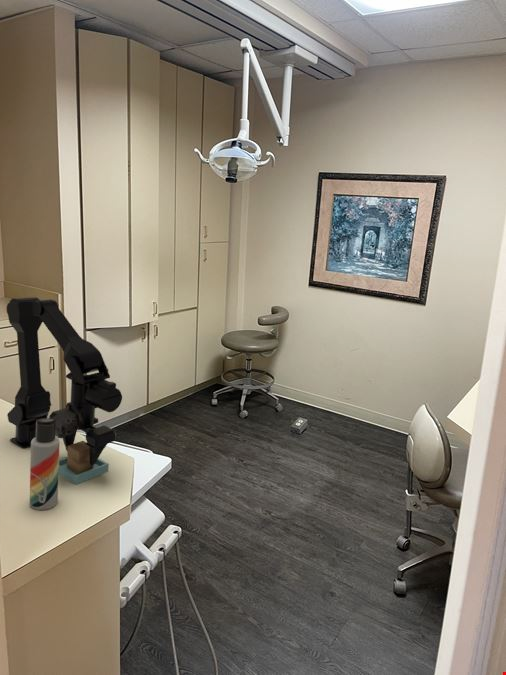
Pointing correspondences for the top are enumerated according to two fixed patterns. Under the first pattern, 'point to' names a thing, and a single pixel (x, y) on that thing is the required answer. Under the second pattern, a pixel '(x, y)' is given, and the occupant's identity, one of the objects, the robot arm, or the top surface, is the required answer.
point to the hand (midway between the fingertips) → (80, 458)
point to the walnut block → (78, 457)
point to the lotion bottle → (44, 465)
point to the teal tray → (78, 478)
